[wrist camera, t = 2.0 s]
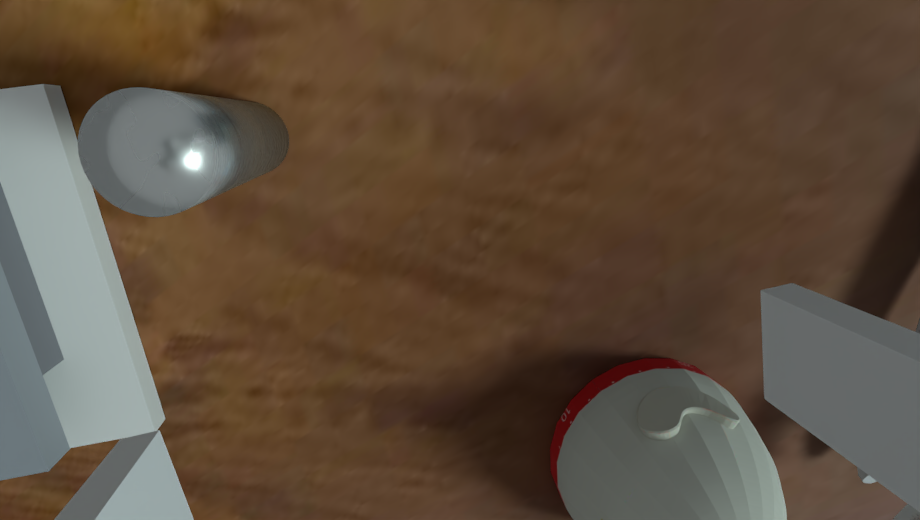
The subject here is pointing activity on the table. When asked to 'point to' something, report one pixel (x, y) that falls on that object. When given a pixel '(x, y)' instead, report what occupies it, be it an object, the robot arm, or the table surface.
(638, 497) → the kitchen timer
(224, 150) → the pin
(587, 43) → the table surface
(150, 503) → the robot arm
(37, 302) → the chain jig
